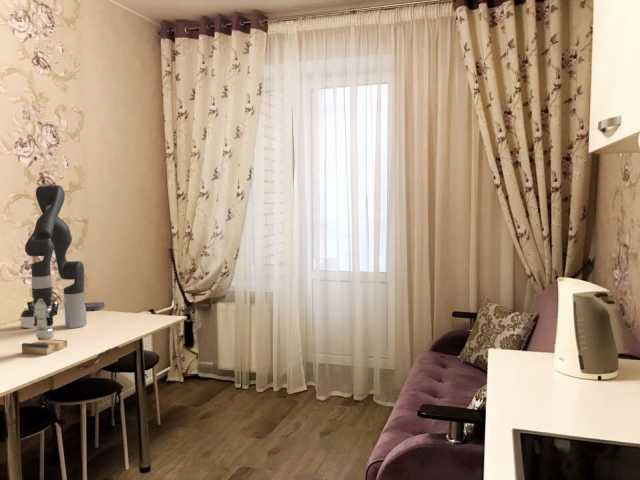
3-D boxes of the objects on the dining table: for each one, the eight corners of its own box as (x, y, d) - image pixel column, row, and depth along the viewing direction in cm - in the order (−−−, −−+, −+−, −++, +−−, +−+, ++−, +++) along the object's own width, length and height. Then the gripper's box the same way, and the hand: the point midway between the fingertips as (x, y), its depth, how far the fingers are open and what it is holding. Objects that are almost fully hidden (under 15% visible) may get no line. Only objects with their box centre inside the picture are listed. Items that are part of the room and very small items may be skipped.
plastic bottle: (57, 338, 216) (55, 292, 214) (44, 342, 209) (41, 295, 208) (46, 337, 218) (43, 292, 216) (32, 341, 211) (29, 295, 210)
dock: (43, 345, 221) (43, 336, 220) (67, 346, 218) (66, 337, 218) (22, 353, 209) (21, 343, 209) (46, 355, 206) (46, 345, 206)
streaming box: (105, 309, 300) (105, 302, 300) (98, 313, 288) (98, 306, 287) (83, 310, 299) (83, 302, 299) (75, 314, 286) (75, 306, 286)
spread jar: (23, 331, 247) (21, 308, 246) (18, 327, 256) (17, 305, 255) (49, 327, 255) (48, 305, 254) (44, 323, 263) (43, 302, 263)
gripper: (62, 285, 214) (64, 324, 215) (34, 284, 217) (36, 322, 218) (49, 288, 207) (52, 328, 208) (20, 287, 210) (22, 327, 211)
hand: (44, 325), depth 213 cm, fingers closed on plastic bottle, 5 cm apart
